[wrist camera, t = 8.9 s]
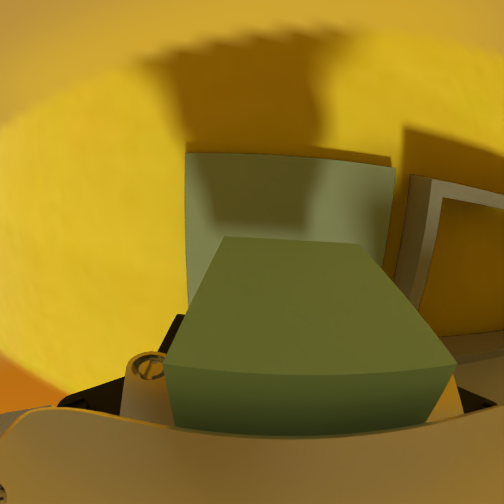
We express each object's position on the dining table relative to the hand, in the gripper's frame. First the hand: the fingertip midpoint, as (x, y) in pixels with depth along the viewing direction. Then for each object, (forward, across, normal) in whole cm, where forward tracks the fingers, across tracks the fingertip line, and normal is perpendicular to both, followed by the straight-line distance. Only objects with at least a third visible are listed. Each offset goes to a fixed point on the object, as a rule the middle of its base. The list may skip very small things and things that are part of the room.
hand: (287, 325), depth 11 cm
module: (+1, 0, 0) cm, 1 cm away
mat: (+6, 0, 0) cm, 6 cm away
